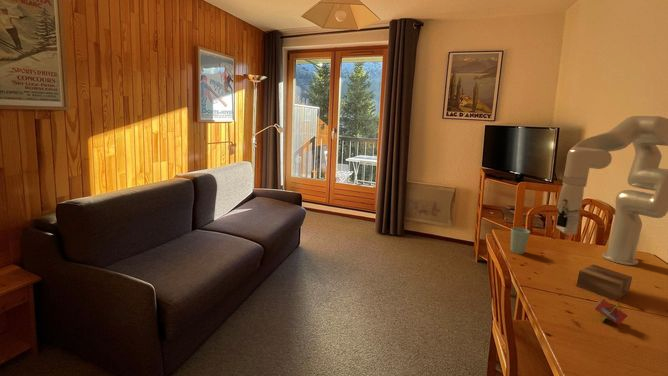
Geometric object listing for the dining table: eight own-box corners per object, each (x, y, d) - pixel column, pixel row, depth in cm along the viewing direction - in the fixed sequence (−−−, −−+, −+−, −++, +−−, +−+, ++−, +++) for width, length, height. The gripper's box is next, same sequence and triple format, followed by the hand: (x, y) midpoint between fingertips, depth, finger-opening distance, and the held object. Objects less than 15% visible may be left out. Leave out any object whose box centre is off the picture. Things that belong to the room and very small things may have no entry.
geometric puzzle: (634, 319, 104) (618, 293, 106) (630, 327, 99) (613, 299, 101) (608, 323, 109) (593, 298, 111) (602, 331, 104) (587, 305, 106)
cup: (525, 250, 163) (528, 228, 161) (527, 256, 156) (531, 233, 154) (507, 247, 165) (510, 226, 163) (509, 253, 158) (512, 231, 156)
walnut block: (590, 278, 135) (593, 264, 134) (628, 292, 125) (632, 276, 124) (576, 285, 129) (579, 270, 127) (615, 300, 119) (619, 284, 118)
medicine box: (576, 235, 134) (580, 213, 132) (563, 233, 134) (567, 212, 133) (567, 228, 141) (571, 208, 139) (555, 227, 142) (558, 207, 140)
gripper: (574, 178, 142) (566, 219, 145) (553, 181, 132) (545, 225, 136) (595, 181, 135) (587, 224, 139) (575, 184, 126) (566, 230, 129)
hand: (566, 224), depth 137 cm, fingers closed on medicine box, 8 cm apart
